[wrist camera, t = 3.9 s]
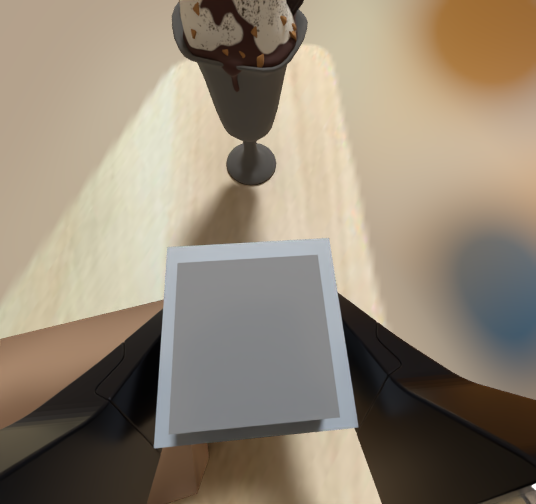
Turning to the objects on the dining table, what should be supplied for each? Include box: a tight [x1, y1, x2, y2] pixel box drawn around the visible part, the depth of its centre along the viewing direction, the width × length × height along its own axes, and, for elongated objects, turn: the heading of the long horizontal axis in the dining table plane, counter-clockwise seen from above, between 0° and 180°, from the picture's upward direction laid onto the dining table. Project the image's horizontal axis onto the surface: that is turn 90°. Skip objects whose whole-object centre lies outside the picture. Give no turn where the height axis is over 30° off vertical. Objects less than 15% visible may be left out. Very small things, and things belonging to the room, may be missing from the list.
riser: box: [0, 300, 209, 504], centre depth 13 cm, size 11×11×3 cm
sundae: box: [172, 0, 308, 185], centre depth 12 cm, size 7×7×15 cm
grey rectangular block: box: [154, 238, 358, 448], centre depth 10 cm, size 6×6×11 cm
